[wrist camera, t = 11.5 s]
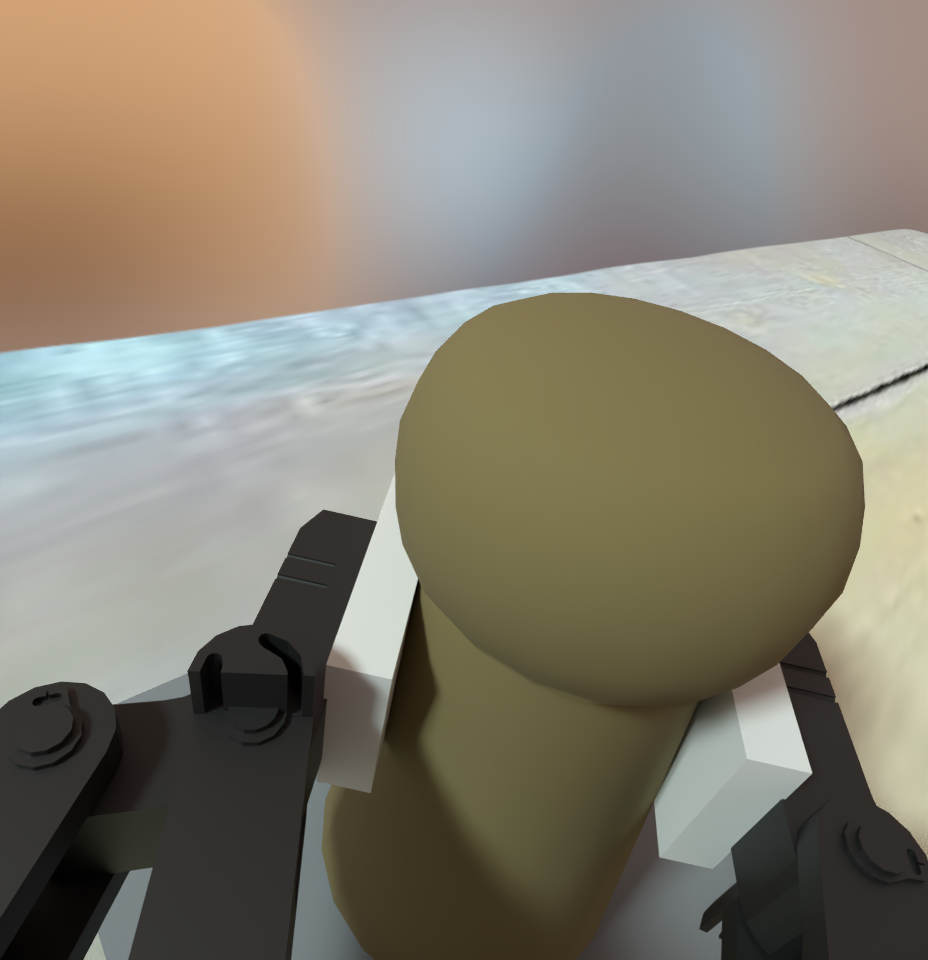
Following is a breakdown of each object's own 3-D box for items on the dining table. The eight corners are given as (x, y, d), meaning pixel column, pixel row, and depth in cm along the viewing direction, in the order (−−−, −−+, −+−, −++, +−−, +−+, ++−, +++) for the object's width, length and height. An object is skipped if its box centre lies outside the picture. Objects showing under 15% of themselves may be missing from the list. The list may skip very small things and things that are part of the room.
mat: (873, 935, 14) (888, 925, 14) (345, 1741, 7) (349, 1768, 7) (499, 550, 21) (503, 537, 21) (45, 751, 14) (39, 737, 14)
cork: (554, 679, 17) (748, 256, 10) (664, 960, 12) (1154, 546, 5) (310, 708, 15) (339, 215, 8) (336, 1049, 10) (451, 599, 4)
